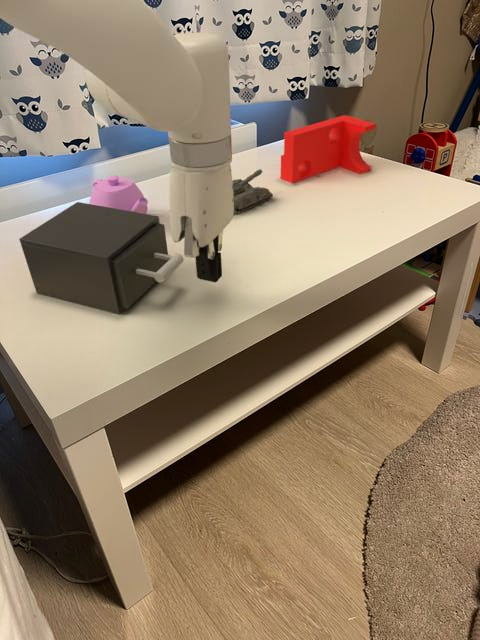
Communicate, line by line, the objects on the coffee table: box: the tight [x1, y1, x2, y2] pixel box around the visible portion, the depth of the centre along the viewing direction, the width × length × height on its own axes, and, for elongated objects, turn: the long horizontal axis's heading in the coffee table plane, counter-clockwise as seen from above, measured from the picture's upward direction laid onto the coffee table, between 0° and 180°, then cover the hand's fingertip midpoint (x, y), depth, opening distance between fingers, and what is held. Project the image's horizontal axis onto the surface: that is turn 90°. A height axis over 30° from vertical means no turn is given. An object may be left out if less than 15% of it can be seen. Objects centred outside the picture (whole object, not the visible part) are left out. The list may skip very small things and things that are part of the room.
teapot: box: [88, 175, 149, 214], centre depth 97 cm, size 10×15×9 cm
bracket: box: [280, 114, 377, 184], centre depth 114 cm, size 18×10×10 cm
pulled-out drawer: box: [111, 222, 184, 310], centre depth 80 cm, size 19×12×8 cm, turn 66°
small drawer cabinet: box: [19, 201, 161, 315], centre depth 82 cm, size 16×14×10 cm
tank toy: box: [232, 168, 274, 215], centre depth 105 cm, size 12×10×5 cm
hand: (209, 277), depth 74 cm, fingers closed
